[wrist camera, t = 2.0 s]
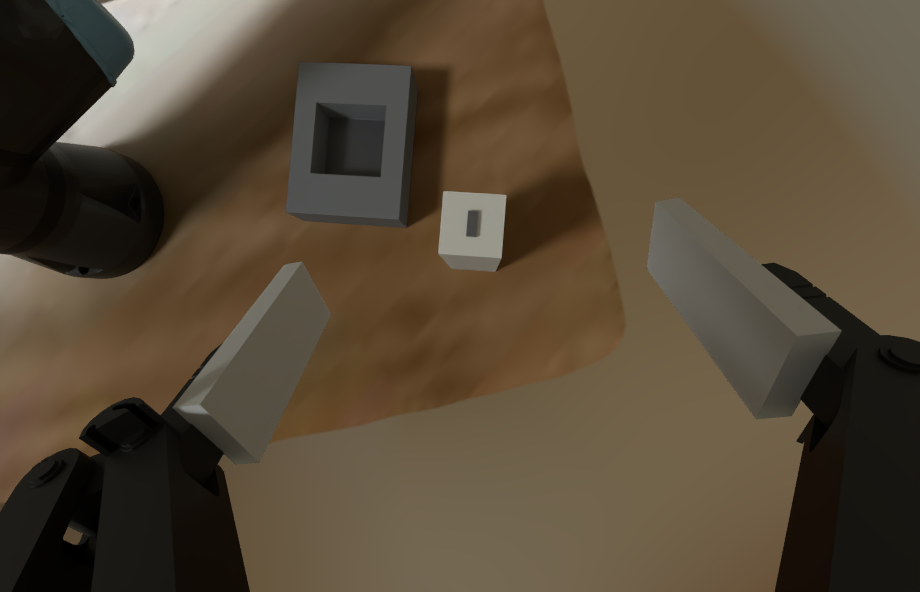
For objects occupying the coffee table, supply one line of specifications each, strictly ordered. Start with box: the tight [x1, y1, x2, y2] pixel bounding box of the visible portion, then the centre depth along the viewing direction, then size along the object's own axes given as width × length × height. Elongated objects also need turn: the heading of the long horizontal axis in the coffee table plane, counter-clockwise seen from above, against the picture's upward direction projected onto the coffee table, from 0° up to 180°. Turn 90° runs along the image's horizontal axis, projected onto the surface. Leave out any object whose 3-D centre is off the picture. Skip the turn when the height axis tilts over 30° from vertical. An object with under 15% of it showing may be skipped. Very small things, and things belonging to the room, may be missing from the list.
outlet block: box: [286, 62, 418, 228], centre depth 39 cm, size 16×12×4 cm
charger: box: [438, 191, 506, 272], centre depth 34 cm, size 5×5×12 cm
